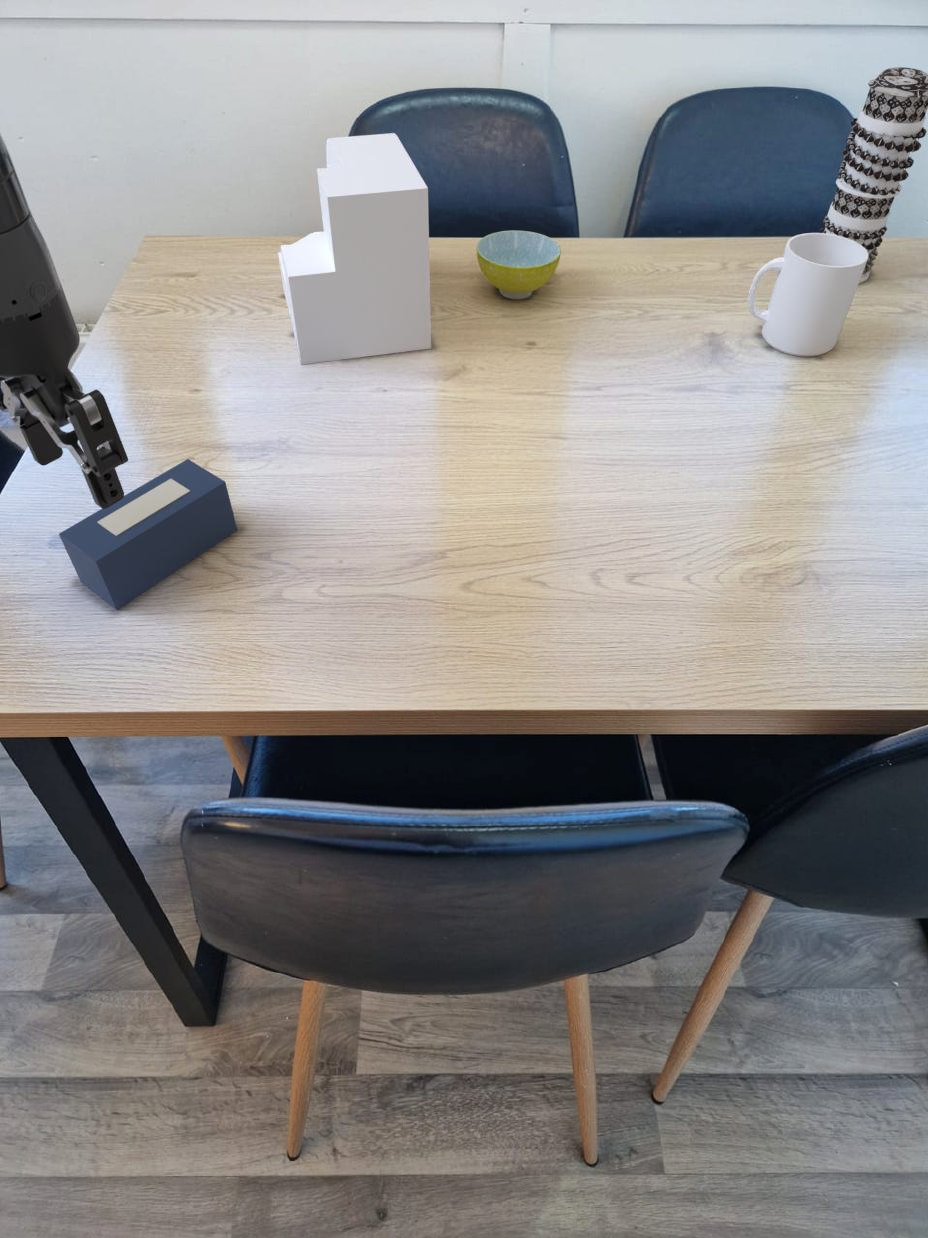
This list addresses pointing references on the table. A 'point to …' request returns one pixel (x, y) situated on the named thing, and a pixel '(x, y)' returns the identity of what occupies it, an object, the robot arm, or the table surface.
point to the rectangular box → (150, 533)
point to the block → (362, 256)
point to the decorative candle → (878, 158)
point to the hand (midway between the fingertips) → (80, 480)
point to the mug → (810, 293)
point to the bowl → (518, 261)
